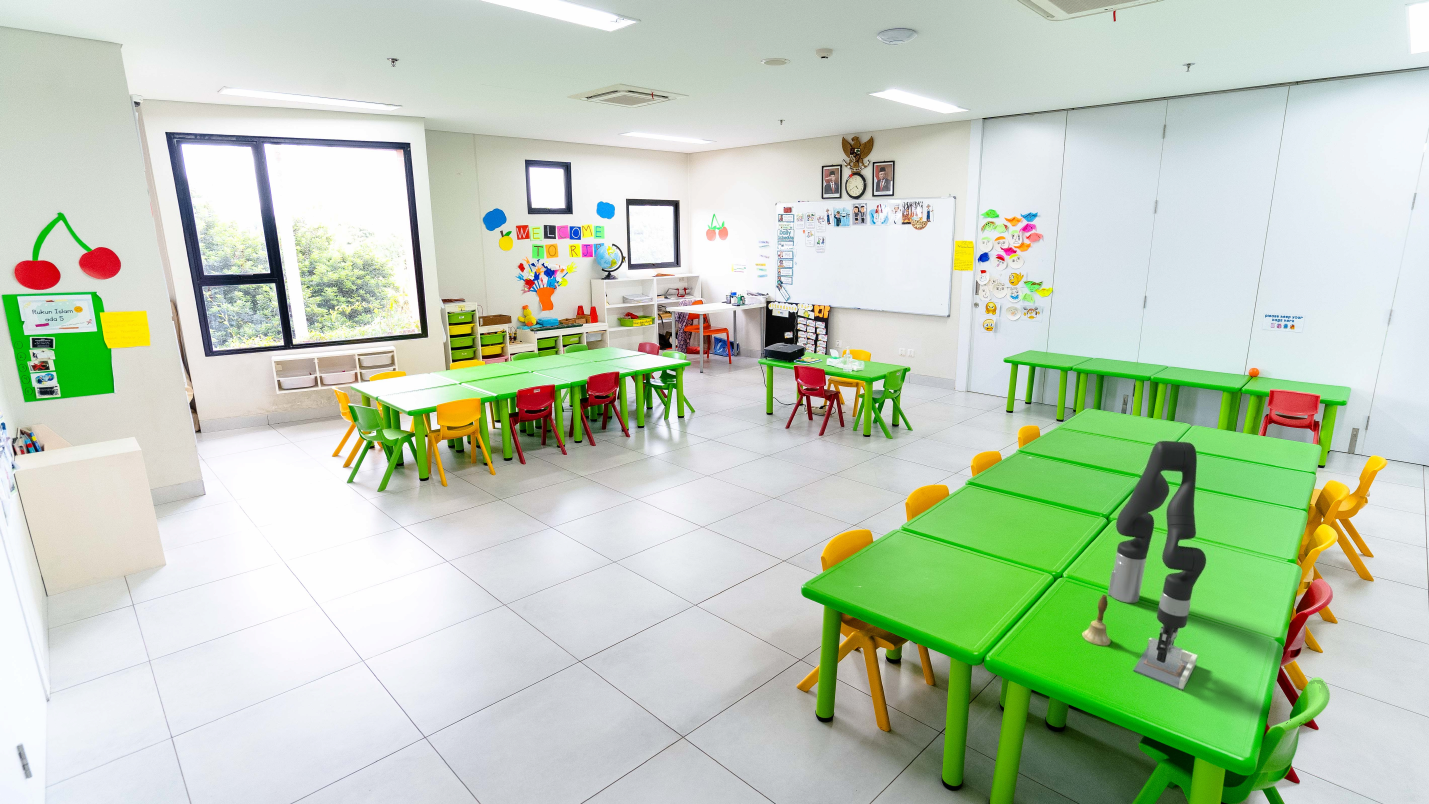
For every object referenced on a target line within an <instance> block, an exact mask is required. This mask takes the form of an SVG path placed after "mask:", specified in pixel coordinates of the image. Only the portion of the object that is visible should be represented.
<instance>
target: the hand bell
mask: <svg viewBox="0 0 1429 804" xmlns="http://www.w3.org/2000/svg"><path fill="white" fill-rule="evenodd" d="M1108 604H1109V603H1108V595H1106V594H1102V595H1101V597H1100V599H1099V601H1098V604H1097V610H1098V613H1097V618H1096V619H1095V620H1092V621H1091V622H1090V625H1089V627H1088V628H1087V629H1086V630H1084V631H1083V632H1082V634H1081V635H1082V638H1083V639H1084V640H1085V641H1086V642H1088V643H1091V644H1093V645H1096V646H1102V647H1104V646H1109V645H1110V644H1111V639H1110V637H1109V636H1108V633H1107V625H1106V624H1105V623H1104V622H1103V620H1104V614H1105V612H1106V610H1107V608H1108Z"/></svg>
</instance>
